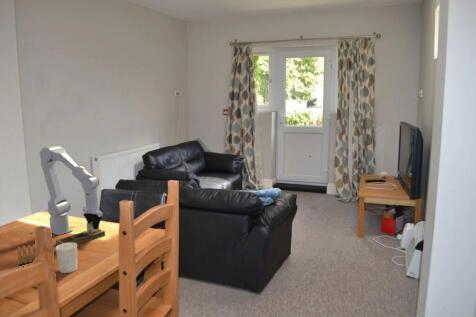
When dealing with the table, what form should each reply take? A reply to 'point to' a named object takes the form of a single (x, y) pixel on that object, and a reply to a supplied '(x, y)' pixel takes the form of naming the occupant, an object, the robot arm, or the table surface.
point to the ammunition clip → (25, 259)
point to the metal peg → (91, 228)
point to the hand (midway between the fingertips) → (93, 227)
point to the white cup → (67, 257)
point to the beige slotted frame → (77, 237)
